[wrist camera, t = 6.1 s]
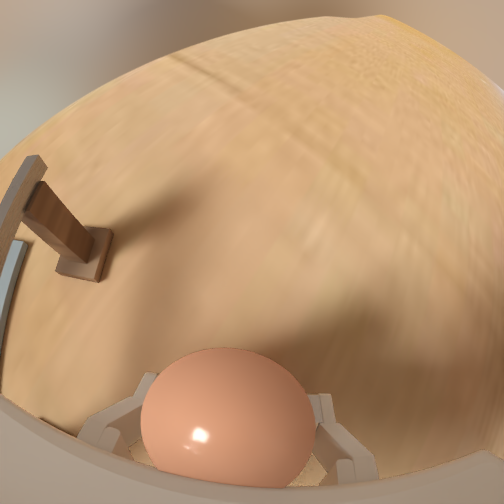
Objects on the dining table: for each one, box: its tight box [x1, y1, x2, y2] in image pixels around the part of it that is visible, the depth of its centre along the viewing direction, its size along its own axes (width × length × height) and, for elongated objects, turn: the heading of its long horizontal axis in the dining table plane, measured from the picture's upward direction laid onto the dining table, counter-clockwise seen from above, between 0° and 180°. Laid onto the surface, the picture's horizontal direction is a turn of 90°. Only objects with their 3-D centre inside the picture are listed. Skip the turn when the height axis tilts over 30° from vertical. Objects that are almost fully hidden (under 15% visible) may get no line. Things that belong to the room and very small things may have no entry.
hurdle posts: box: [21, 181, 114, 283], centre depth 12 cm, size 4×20×8 cm, turn 174°
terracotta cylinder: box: [140, 348, 316, 488], centre depth 11 cm, size 5×5×10 cm
